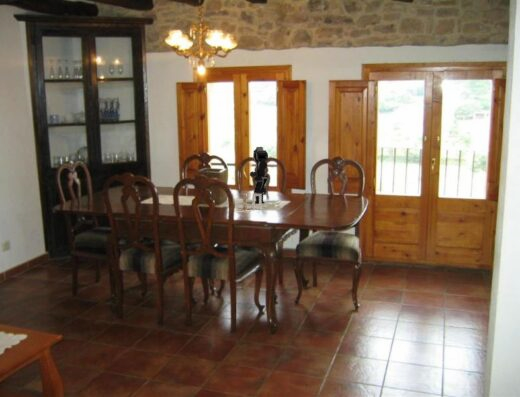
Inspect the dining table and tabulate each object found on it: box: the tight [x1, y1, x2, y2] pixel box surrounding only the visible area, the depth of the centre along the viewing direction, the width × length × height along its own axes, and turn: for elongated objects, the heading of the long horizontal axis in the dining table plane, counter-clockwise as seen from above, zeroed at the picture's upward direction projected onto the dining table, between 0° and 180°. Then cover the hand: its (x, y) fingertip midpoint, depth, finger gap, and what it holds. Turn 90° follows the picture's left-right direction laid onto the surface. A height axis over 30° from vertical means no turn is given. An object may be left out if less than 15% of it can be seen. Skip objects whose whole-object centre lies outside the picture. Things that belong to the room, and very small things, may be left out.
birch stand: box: [234, 193, 253, 213], centre depth 389 cm, size 11×10×13 cm
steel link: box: [252, 193, 262, 210], centre depth 395 cm, size 2×6×12 cm, turn 74°
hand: (261, 189), depth 408 cm, fingers open, 9 cm apart
